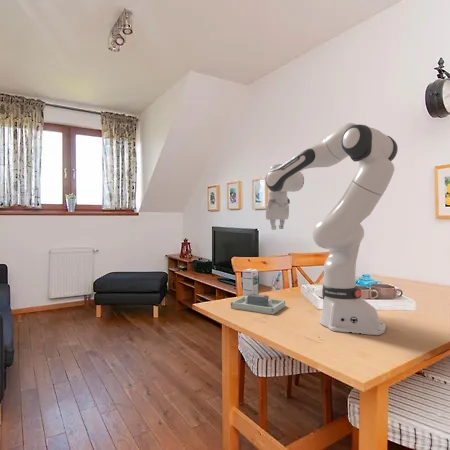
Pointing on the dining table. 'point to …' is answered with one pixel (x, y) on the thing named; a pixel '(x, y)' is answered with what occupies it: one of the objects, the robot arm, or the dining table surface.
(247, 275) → the syrup box
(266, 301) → the grey rectangular block
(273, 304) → the tray
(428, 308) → the dining table surface
